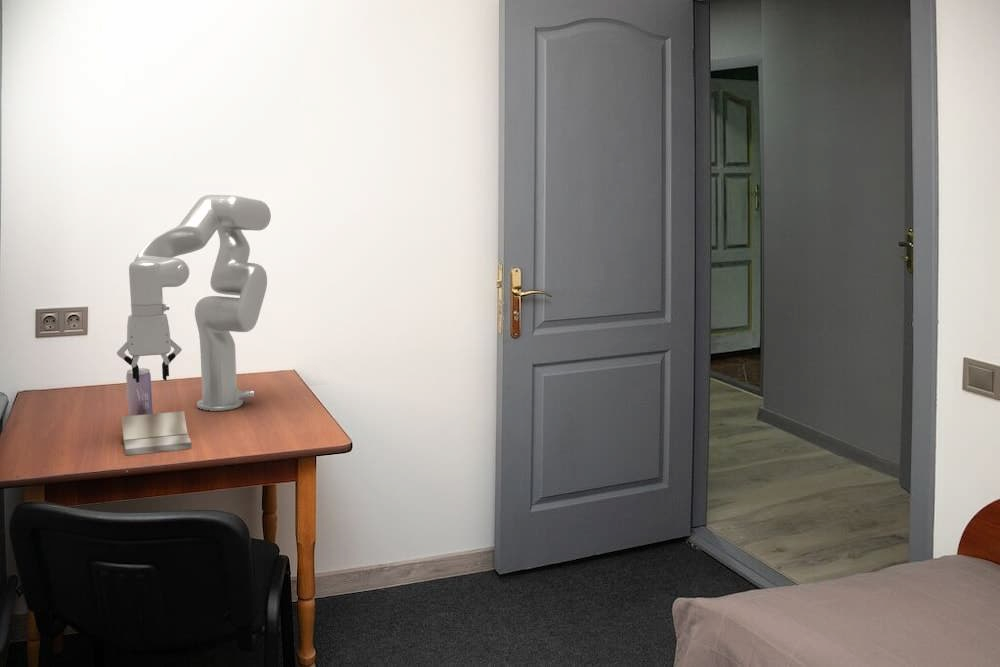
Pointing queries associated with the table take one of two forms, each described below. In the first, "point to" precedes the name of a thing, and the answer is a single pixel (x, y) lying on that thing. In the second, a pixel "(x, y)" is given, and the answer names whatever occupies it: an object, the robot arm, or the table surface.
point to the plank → (154, 425)
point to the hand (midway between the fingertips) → (151, 379)
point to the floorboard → (157, 444)
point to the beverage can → (139, 393)
